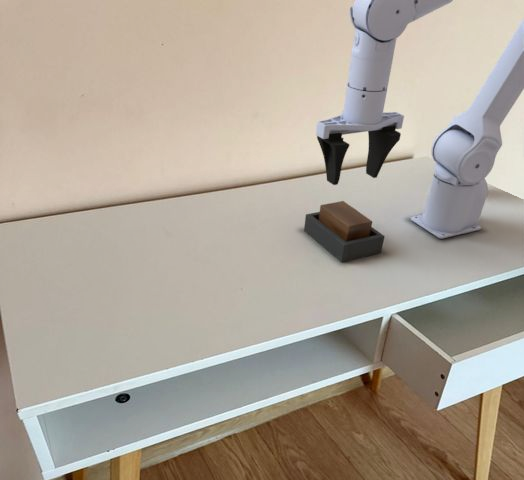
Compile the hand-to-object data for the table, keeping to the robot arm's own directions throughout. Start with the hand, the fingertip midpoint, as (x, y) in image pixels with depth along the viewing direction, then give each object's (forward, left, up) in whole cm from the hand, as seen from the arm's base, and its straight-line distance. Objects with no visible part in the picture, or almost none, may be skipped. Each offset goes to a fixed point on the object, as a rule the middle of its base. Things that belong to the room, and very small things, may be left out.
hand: (352, 178), depth 87 cm
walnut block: (+2, +2, -9) cm, 9 cm away
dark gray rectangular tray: (+2, +2, -9) cm, 10 cm away
